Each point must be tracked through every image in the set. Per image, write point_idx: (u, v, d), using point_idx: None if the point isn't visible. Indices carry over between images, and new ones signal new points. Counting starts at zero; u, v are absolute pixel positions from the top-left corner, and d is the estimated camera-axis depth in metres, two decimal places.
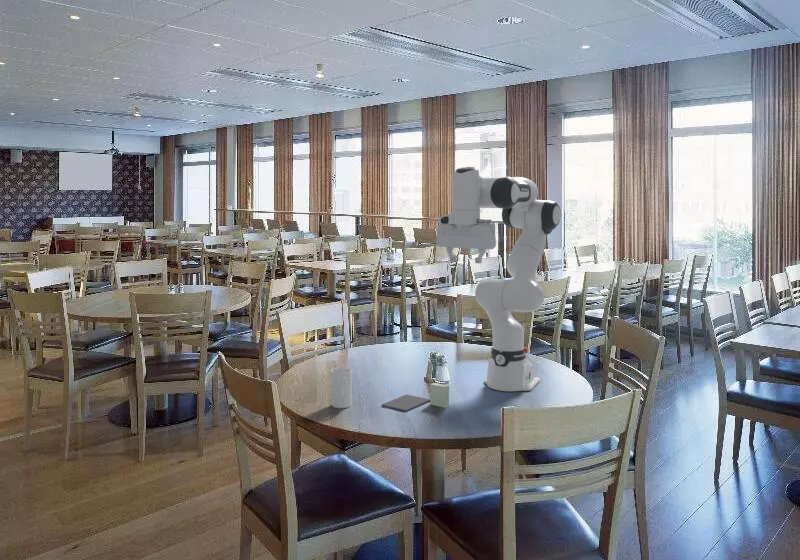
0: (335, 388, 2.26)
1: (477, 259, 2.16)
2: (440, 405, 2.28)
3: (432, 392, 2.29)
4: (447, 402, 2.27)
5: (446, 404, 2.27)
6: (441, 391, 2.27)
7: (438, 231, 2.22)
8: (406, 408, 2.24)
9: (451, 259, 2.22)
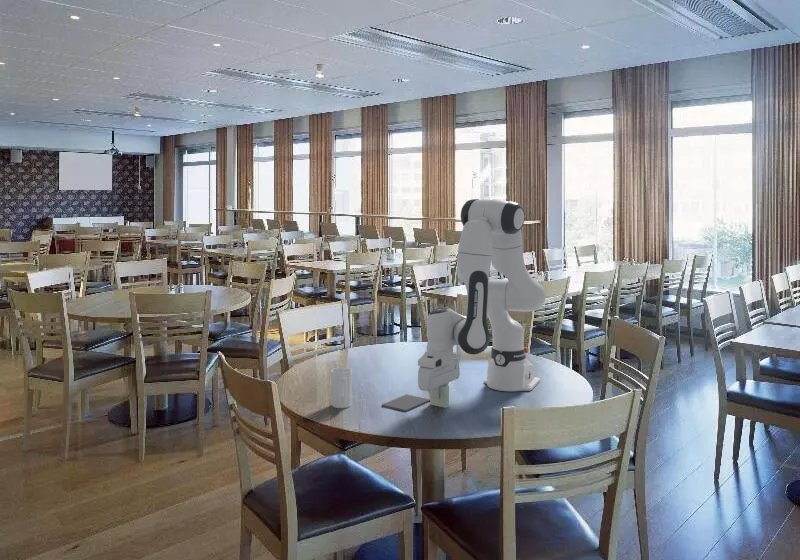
0: (335, 388, 2.26)
1: None
2: (440, 405, 2.28)
3: (432, 392, 2.29)
4: (447, 402, 2.27)
5: (446, 404, 2.27)
6: (441, 391, 2.27)
7: (431, 376, 2.19)
8: (406, 408, 2.24)
9: (439, 397, 2.27)
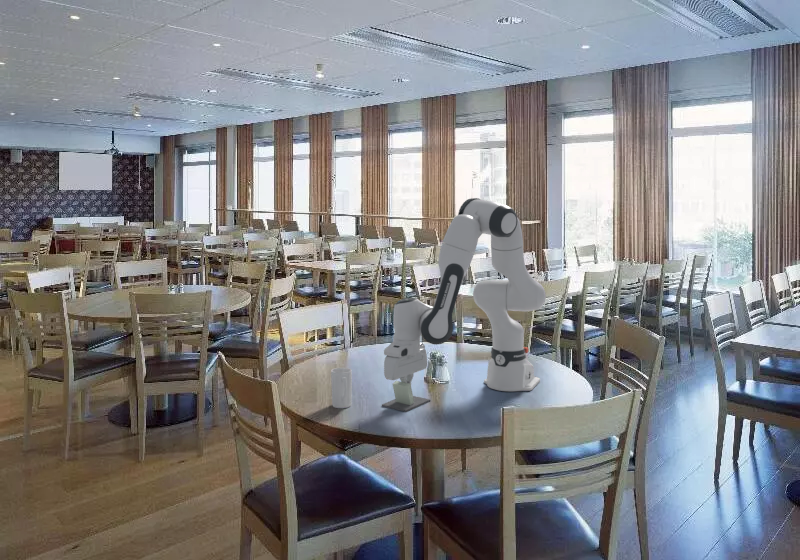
0: (335, 388, 2.26)
1: (410, 383, 2.30)
2: (405, 402, 2.28)
3: (395, 391, 2.29)
4: (411, 399, 2.28)
5: (411, 401, 2.28)
6: (404, 390, 2.27)
7: (396, 365, 2.21)
8: (406, 408, 2.24)
9: None
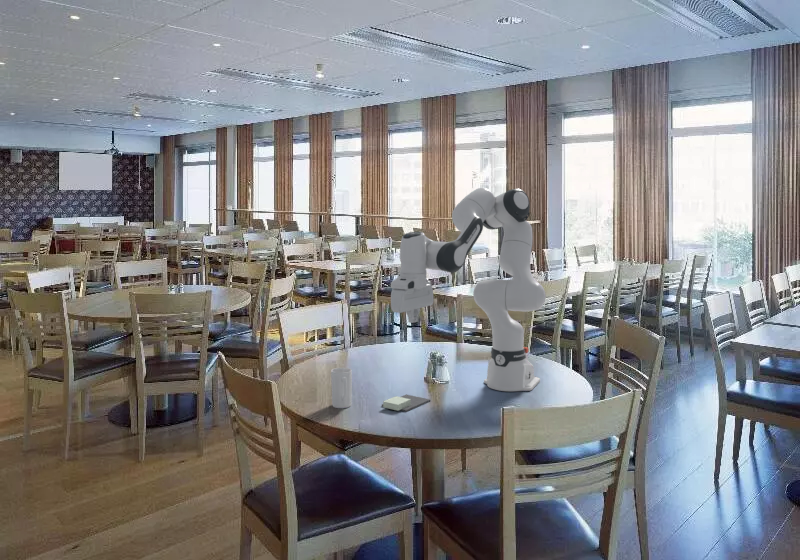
0: (335, 388, 2.26)
1: (416, 318, 2.31)
2: None
3: None
4: (407, 403, 2.26)
5: (408, 404, 2.27)
6: None
7: (403, 297, 2.21)
8: (406, 408, 2.24)
9: (414, 320, 2.29)
